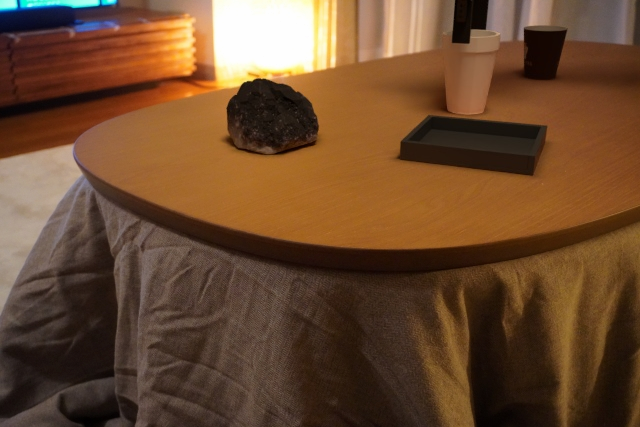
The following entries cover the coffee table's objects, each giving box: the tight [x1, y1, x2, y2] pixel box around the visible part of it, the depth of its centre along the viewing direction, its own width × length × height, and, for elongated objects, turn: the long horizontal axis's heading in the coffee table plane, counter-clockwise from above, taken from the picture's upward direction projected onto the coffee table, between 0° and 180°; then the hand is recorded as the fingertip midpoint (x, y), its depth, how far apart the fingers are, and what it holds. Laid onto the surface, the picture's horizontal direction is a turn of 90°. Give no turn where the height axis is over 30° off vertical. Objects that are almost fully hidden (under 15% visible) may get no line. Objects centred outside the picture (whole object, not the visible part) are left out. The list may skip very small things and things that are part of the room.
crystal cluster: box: [225, 77, 320, 155], centre depth 93 cm, size 13×14×10 cm
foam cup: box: [441, 29, 502, 116], centre depth 106 cm, size 10×9×13 cm
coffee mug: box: [523, 24, 568, 81], centre depth 131 cm, size 12×9×10 cm
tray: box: [399, 114, 548, 176], centre depth 88 cm, size 18×15×3 cm
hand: (469, 37), depth 104 cm, fingers open, 13 cm apart
